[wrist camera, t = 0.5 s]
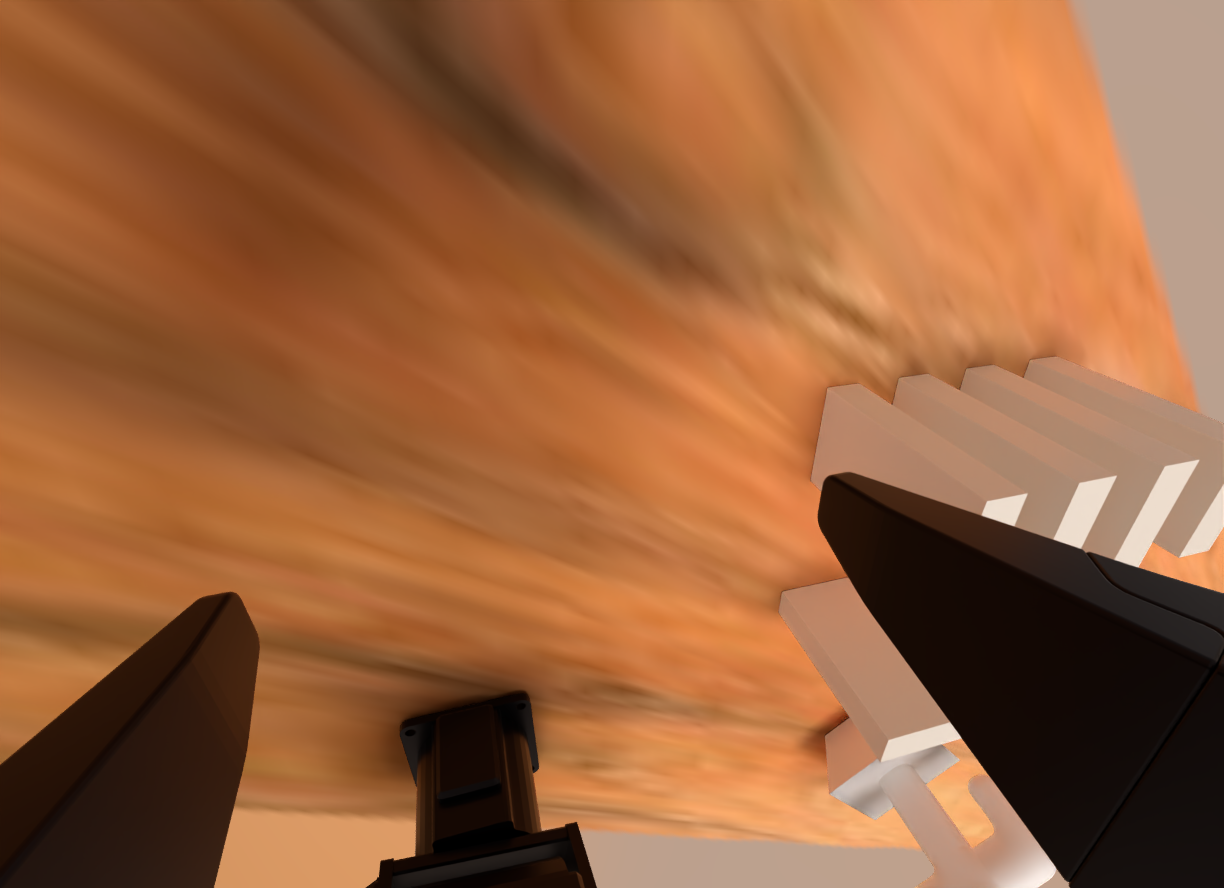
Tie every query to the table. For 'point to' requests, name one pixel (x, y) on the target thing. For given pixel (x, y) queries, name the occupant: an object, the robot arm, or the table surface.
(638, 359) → the table surface
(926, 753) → the figurine
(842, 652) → the domino
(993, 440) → the domino
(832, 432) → the domino
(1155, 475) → the domino
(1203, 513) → the domino
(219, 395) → the table surface
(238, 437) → the table surface
